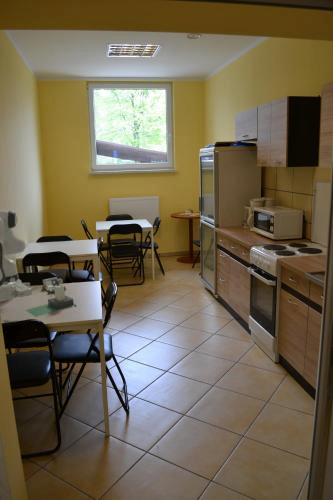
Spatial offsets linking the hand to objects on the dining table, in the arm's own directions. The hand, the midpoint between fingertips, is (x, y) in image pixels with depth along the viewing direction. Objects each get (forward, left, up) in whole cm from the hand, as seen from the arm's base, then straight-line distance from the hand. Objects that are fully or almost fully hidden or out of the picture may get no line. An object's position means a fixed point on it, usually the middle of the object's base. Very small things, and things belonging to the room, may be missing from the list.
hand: (32, 285), depth 236 cm
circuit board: (+3, +9, -16) cm, 19 cm away
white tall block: (+3, +15, -15) cm, 22 cm away
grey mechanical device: (-31, +27, -17) cm, 45 cm away
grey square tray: (+3, +15, -16) cm, 22 cm away
